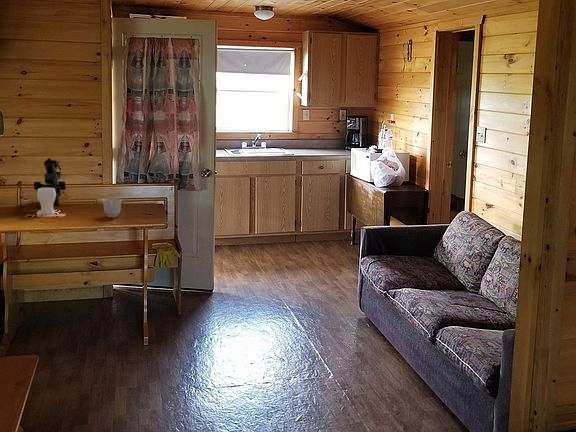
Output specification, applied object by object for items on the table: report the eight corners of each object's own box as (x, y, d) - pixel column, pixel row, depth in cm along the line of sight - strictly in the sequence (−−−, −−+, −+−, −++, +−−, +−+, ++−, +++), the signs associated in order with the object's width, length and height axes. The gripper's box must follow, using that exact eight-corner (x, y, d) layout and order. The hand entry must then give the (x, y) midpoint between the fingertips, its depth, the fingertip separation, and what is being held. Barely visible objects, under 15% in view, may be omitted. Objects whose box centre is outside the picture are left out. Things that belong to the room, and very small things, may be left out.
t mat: (30, 210, 434) (30, 210, 434) (68, 210, 439) (68, 210, 439) (25, 217, 414) (25, 216, 414) (64, 216, 419) (64, 216, 419)
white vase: (59, 212, 431) (58, 187, 429) (52, 215, 421) (51, 190, 418) (42, 211, 432) (41, 187, 430) (34, 214, 422) (33, 189, 419)
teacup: (101, 219, 412) (100, 202, 410) (102, 214, 426) (102, 198, 424) (122, 218, 414) (122, 201, 412) (123, 214, 429) (122, 198, 427)
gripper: (33, 168, 436) (31, 188, 428) (64, 168, 440) (63, 188, 431) (35, 179, 445) (33, 199, 437) (66, 179, 449) (65, 199, 440)
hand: (49, 196), depth 436 cm, fingers closed
